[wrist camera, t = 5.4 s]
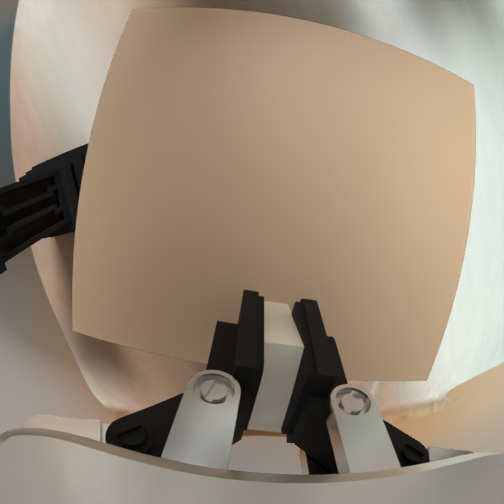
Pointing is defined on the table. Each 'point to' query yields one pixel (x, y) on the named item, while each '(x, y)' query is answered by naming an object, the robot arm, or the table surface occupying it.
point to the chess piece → (41, 203)
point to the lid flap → (273, 194)
